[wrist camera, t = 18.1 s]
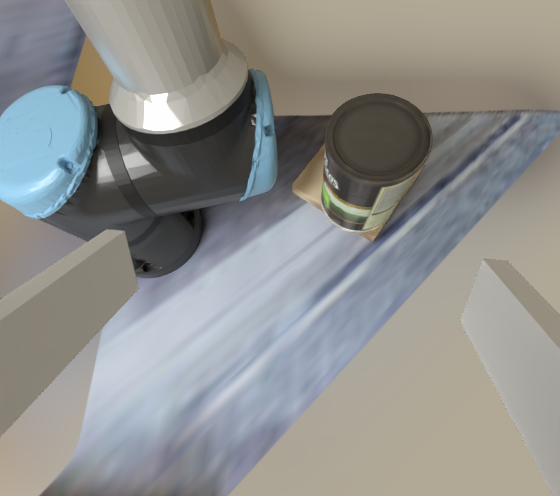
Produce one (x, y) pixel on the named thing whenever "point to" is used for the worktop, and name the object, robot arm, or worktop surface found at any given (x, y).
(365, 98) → the coffee can
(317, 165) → the chopping board
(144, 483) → the worktop surface
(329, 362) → the worktop surface
